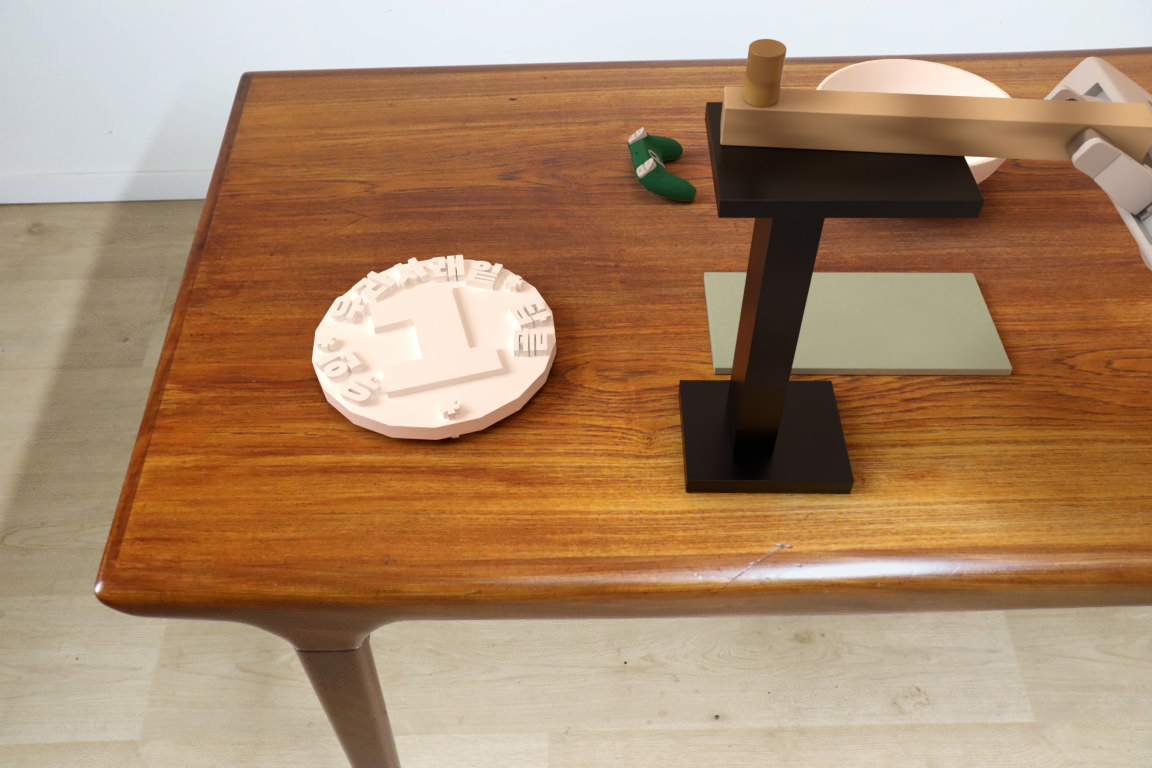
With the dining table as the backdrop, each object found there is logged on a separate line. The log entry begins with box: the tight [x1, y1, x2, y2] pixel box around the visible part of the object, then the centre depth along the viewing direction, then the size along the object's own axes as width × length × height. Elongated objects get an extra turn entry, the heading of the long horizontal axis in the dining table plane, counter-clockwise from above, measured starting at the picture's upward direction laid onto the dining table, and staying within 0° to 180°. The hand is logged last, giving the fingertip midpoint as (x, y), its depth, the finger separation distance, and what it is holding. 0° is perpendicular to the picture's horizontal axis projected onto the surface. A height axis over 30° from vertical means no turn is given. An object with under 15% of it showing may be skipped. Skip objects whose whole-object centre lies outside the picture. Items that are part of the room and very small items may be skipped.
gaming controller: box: [627, 126, 698, 202], centre depth 95 cm, size 9×4×6 cm
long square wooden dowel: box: [720, 38, 1152, 164], centre depth 52 cm, size 23×2×5 cm, turn 84°
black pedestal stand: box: [677, 101, 986, 495], centre depth 63 cm, size 14×10×26 cm
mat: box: [703, 271, 1013, 376], centre depth 81 cm, size 24×12×1 cm, turn 89°
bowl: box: [815, 58, 1012, 186], centre depth 92 cm, size 20×19×8 cm
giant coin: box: [311, 254, 557, 441], centre depth 78 cm, size 20×20×3 cm
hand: (1065, 122), depth 52 cm, fingers open, 3 cm apart
